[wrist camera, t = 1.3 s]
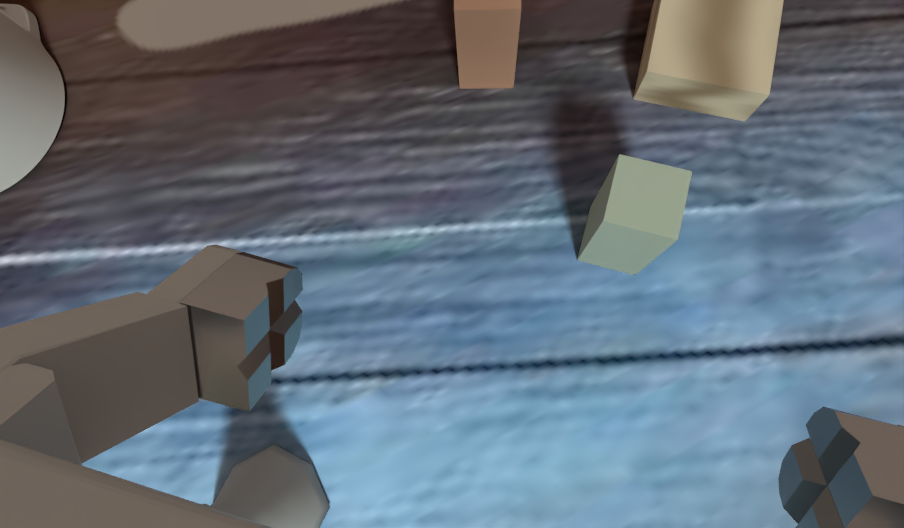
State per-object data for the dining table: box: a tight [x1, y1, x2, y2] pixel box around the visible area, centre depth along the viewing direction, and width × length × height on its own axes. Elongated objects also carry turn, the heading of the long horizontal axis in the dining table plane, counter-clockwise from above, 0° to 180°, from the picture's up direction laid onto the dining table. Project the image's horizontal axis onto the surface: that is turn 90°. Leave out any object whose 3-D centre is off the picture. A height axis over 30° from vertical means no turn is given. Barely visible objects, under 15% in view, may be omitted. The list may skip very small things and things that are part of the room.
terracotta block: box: [454, 0, 521, 89], centre depth 40 cm, size 4×4×9 cm
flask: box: [202, 444, 330, 528], centre depth 33 cm, size 7×7×10 cm
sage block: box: [577, 154, 692, 275], centre depth 36 cm, size 4×4×9 cm
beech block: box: [633, 0, 784, 121], centre depth 41 cm, size 8×8×4 cm
